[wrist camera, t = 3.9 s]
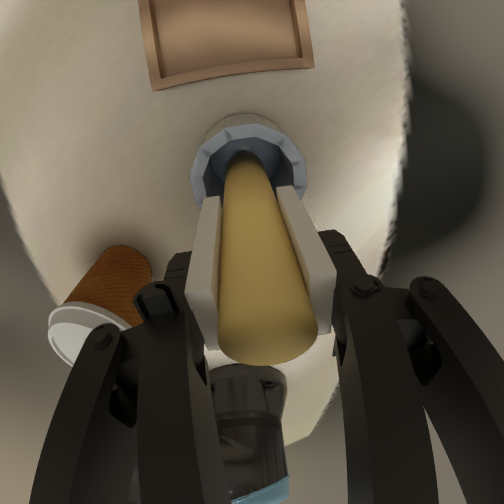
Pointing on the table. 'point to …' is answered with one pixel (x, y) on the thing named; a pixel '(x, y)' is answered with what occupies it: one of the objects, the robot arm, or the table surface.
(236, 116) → the pen cup
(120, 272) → the disposable coffee cup
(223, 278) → the dowel
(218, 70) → the tray
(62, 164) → the table surface
